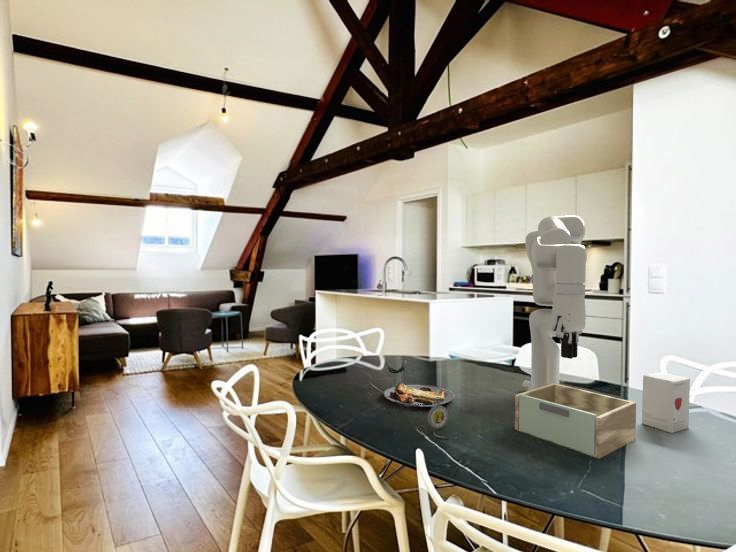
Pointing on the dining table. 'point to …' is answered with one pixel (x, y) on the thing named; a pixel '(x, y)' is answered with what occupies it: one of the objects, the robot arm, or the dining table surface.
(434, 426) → the pocket watch
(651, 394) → the supplement box
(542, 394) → the crate
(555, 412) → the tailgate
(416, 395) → the food plate
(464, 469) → the dining table surface
